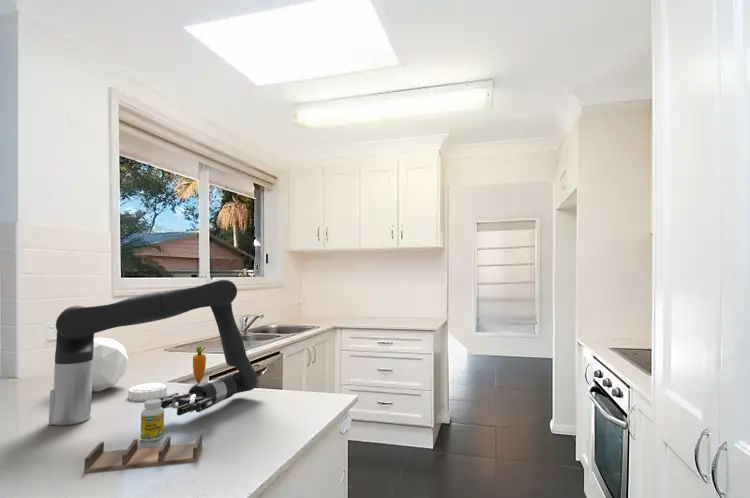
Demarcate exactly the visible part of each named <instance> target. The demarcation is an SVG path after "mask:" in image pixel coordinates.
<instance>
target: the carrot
mask: <svg viewBox="0 0 750 498" xmlns="http://www.w3.org/2000/svg"><path fill="white" fill-rule="evenodd" d="M202 346H203V345H197V346H196V347H195V349H196V352H197V353H196V354H194V355H193V356H192V370H193V376H194V378H195V381H196V383H197V385H198V384H201V382H202V380H203V378H204V376H205V373H206V371H205V370H206V364H207V363H206V361H207V356H206V355H205V353H202V352H203V351H204V350H205V349H207V347H205V346H204V347H202Z"/></svg>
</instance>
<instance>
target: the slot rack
mask: <svg viewBox="0 0 750 498" xmlns="http://www.w3.org/2000/svg"><path fill="white" fill-rule="evenodd" d="M171 438H172V437H171V435H170V436H169V435H168V436H166V438H164V439H165V440H164V441H163V443H162V445H160V446H150V447H148V446H147V447H138V445H139V439H138V438H136V439H133V441H132V442H131V443H130V444H129V446H128V447H127V448H126V449H118V450H117V449H116V450H107V451H106V450H105V451H104V449H105V448H104V447H105V442H104V441H99V443H98V444H97V445H96V446H95V447H94V448H93V449H92V450H91V451H90V453H88V455H86V457H85V458H84V469H83V473H85V474H86V473H93V472H95V473H96V472H104V471H113V470H115V471H116V470H124V469H125V470H126V469H133V468H143V467H144V468H145V467H154V466H162V465H163V466H164V465H165V466H166V465H173V464H181V463H192V462H193V463H194V462H197V461H198V460H199V456H200V453H201V450H202V447H203V433H198V435H197V438H196V440H195V442H193V443H184V444H183V443H182V444H171Z"/></svg>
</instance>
